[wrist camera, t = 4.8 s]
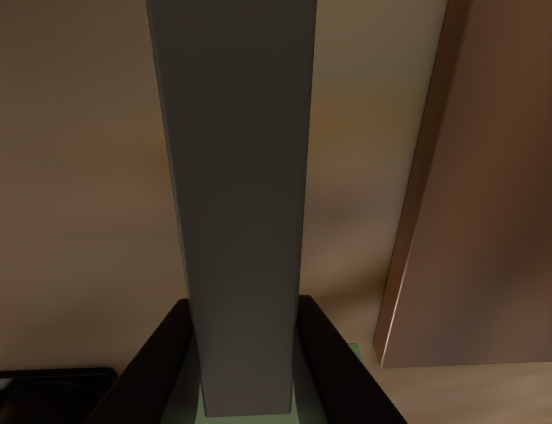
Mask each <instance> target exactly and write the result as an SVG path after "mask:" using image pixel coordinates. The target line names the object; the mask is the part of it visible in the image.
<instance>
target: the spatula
mask: <svg viewBox="0 0 552 424" xmlns="http://www.w3.org/2000/svg"><path fill="white" fill-rule="evenodd" d="M146 6H147V13H148V20H149V27H150V34H151V41H152V48H153V55H154V62H155V69H156V76H157V83H158V90H159V97H160V104H161V111H162V118H163V125H164V132H165V139H166V146H167V153H168V160H169V167H170V174H171V181H172V188H173V195H174V202H175V209H176V216H177V223H178V230H179V237H180V244H181V251H182V258H183V265H184V272H185V279H186V286H187V293H188V300H189V307H190V314H191V321H192V324H193V325H194V329H195V337H196V344H197V351H198V358H199V366H200V389H199V401H198V408H197V415H196V421H195V424H299V419H298V414H297V408H296V402H295V393H294V382H293V354H294V338H295V322H296V320H297V314H298V298H299V282H300V266H301V250H302V234H303V218H304V202H305V185H306V169H307V153H308V137H309V121H310V105H311V89H312V73H313V56H314V40H315V24H316V8H317V0H146ZM348 345H349V347H350V348H351V349H352V351H353V352H354V353H355V354H356V356H357V357H358V358H359V360H360V361H361V356H360V352H359V349H358V345H357V344H356V343H349V344H348ZM137 353H138V352H137ZM137 353H136V355H137Z"/></svg>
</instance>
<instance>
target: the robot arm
mask: <svg viewBox="0 0 552 424" xmlns="http://www.w3.org/2000/svg"><path fill="white" fill-rule="evenodd" d="M293 382H294V393H295V402H296V408H297V414H298V419H299V424H407V422H406V420H405V419H404V418H403V416H402V415H401V414H400V412H399V411H398V410H397V408H396V407H395V406H394V404H393V403H392V402H391V401H390V399H389V398H388V397H387V395H386V394H385V393H384V391H383V390H382V389H381V387H380V386H379V385H378V383H377V382H376V381H375V379H374V378H373V377H372V376H371V374H370V373H369V372H368V370H367V369H366V368H365V366H364V365H363V364H362V362H361V361H360V360H359V358H358V357H357V356H356V354H355V353H354V352H353V351H352V349H351V348H350V347H349V345H348V344H347V343H346V341H345V340H344V339H343V337H342V336H341V335H340V333H339V332H338V331H337V329H336V328H335V327H334V326H333V324H332V323H331V322H330V320H329V319H328V318H327V316H326V315H325V314H324V312H323V311H322V310H321V308H320V307H319V306H318V304H317V303H316V302H315V301H314V299H313V298H312V297H311V296H310V295H299V298H298V314H297V320H296V322H295V338H294V354H293ZM199 389H200V366H199V358H198V351H197V344H196V337H195V329H194V325H193V324H192V321H191V314H190V307H189V300H188V298H184V299H180V300H178V301H177V303H176V304H175V305H174V307H173V308H172V309H171V311H170V312H169V313H168V314H167V316H166V317H165V318H164V320H163V321H162V322H161V323H160V325H159V326H158V327H157V329H156V330H155V331H154V333H153V334H152V335H151V336H150V338H149V339H148V340H147V342H146V343H145V344H144V345H143V347H142V348H141V349H140V351H139V352H138V353H137V355H136V356H135V357H134V358H133V360H132V361H131V362H130V364H129V365H128V366H127V367H126V369H125V370H124V371H123V373H122V374H121V375H120V377H119V378H117V375H116V372H115V371H114V370H113V369H110V368H105V367H101V368H76V369H50V370H25V371H0V424H195V421H196V415H197V408H198V401H199Z"/></svg>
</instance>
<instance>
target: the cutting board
mask: <svg viewBox="0 0 552 424" xmlns="http://www.w3.org/2000/svg"><path fill="white" fill-rule="evenodd" d="M373 347H374V350H375V353H376V356H377V359H378V362H379V366H380V368H405V367H429V366H454V365H478V364H502V363H527V362H551V361H552V0H449V3H448V7H447V12H446V16H445V21H444V25H443V30H442V34H441V39H440V43H439V48H438V53H437V57H436V62H435V66H434V71H433V75H432V80H431V84H430V89H429V93H428V98H427V102H426V107H425V111H424V116H423V120H422V125H421V129H420V134H419V138H418V143H417V147H416V152H415V156H414V161H413V165H412V170H411V174H410V179H409V183H408V188H407V193H406V197H405V202H404V206H403V211H402V215H401V220H400V224H399V229H398V233H397V238H396V242H395V247H394V251H393V256H392V260H391V265H390V269H389V274H388V278H387V283H386V287H385V292H384V296H383V301H382V305H381V310H380V314H379V319H378V323H377V328H376V333H375V337H374V342H373Z"/></svg>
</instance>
